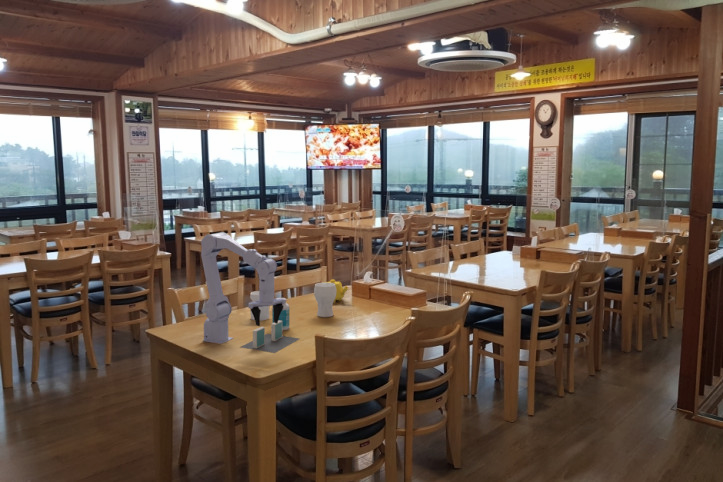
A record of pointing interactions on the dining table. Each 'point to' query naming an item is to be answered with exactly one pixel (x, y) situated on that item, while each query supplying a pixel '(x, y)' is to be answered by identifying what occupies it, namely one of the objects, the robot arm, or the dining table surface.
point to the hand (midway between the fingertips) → (266, 324)
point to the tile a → (258, 337)
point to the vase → (264, 310)
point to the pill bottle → (283, 315)
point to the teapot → (339, 290)
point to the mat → (272, 344)
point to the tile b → (276, 331)
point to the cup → (325, 298)
